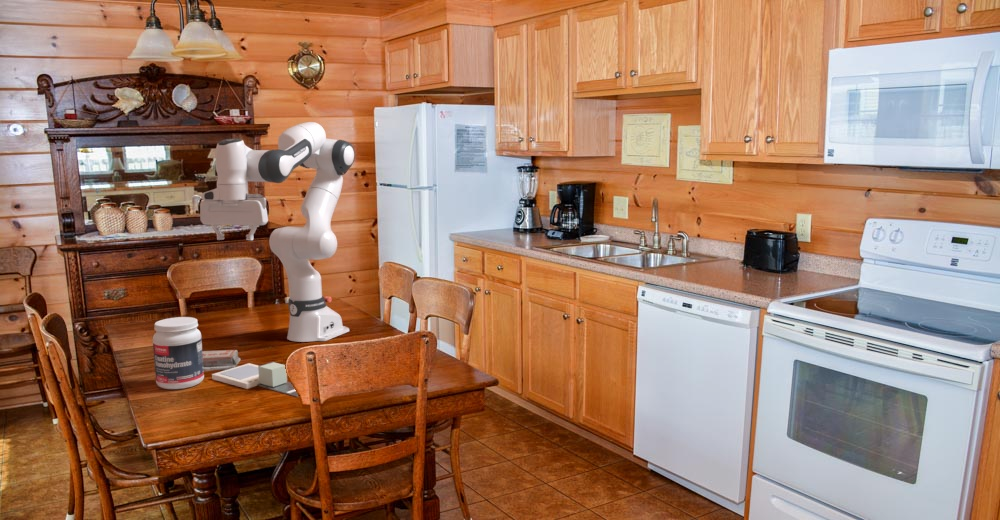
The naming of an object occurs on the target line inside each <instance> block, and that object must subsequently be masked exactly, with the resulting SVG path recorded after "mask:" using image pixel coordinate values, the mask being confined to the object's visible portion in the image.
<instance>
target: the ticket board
mask: <svg viewBox="0 0 1000 520" xmlns="http://www.w3.org/2000/svg"><path fill="white" fill-rule="evenodd" d="M258 366H259V365H258V364H253V363H250V362H249V363H245V364H242V365H237V366H236V367H235V368H231V369H228V370H220V371H218V372H215V373H211V376H212V377H211V380H213V381H218V382H222V383H224V384H228V385H232V386H235V387H238V388H239V387H240V388H243V389H246V390H248V389H251V388H254V387H260V388H264V389H267V390H270V391H274V392H277V393H282V394H285V395H289V396H293V397H295V398H296V397H297V398H298V397H299V396H298V394H297V392H296V390H295V388H294V387H293V385H292V384H291V383H292V382H289V381H287V382H286V383H283V384H281V385H278V386H275V387H271V386H267V385H264V384H260V383H259V371H258Z"/></svg>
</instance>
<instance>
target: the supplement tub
mask: <svg viewBox="0 0 1000 520" xmlns="http://www.w3.org/2000/svg"><path fill="white" fill-rule="evenodd" d="M198 327H199V323H198V319H197V318H195V317H191V316H178V317H176V316H175V317H170V318H164V319H161V320H158V321H156V322H155V323H154V331H156V332H155V333H154V334H153V336H152V347H153V348H152V349H153V360H154V372H155V384H156V385H157V386H158V387H159V388H161V389H165V390H184V389H187V388H188V389H189V388H192V387H194V386H197V385H199V384H200V383H202V382H203V380H204V378H205V374H204V373H205V371H204V368H203V354H202V351H203V342H202V341H203V340H202V339H203V338H202V333H201V331H200V330H199V329H198Z"/></svg>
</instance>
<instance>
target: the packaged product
mask: <svg viewBox="0 0 1000 520" xmlns="http://www.w3.org/2000/svg"><path fill="white" fill-rule="evenodd" d="M202 354H203V368H204V372H207V371H225V370H228V369H231V368H235V367H238V364H240V362H241V358H240V356H239V352H238V350H237V349H227V350H226V349H225V350H224V349H223V350H218V349H217V350H202Z"/></svg>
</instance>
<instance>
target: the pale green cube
mask: <svg viewBox="0 0 1000 520" xmlns="http://www.w3.org/2000/svg"><path fill="white" fill-rule="evenodd" d="M285 365H286V364H284V363H282V364H281V363H278V362H274V361H270V362H268V363H265V364H262V365H258V371H259V383H260V384H264V385H267V386H271V387H275V386H278V385H281V384H283V383H286V382H288V373H286V369H287V368H286V369H285Z"/></svg>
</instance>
